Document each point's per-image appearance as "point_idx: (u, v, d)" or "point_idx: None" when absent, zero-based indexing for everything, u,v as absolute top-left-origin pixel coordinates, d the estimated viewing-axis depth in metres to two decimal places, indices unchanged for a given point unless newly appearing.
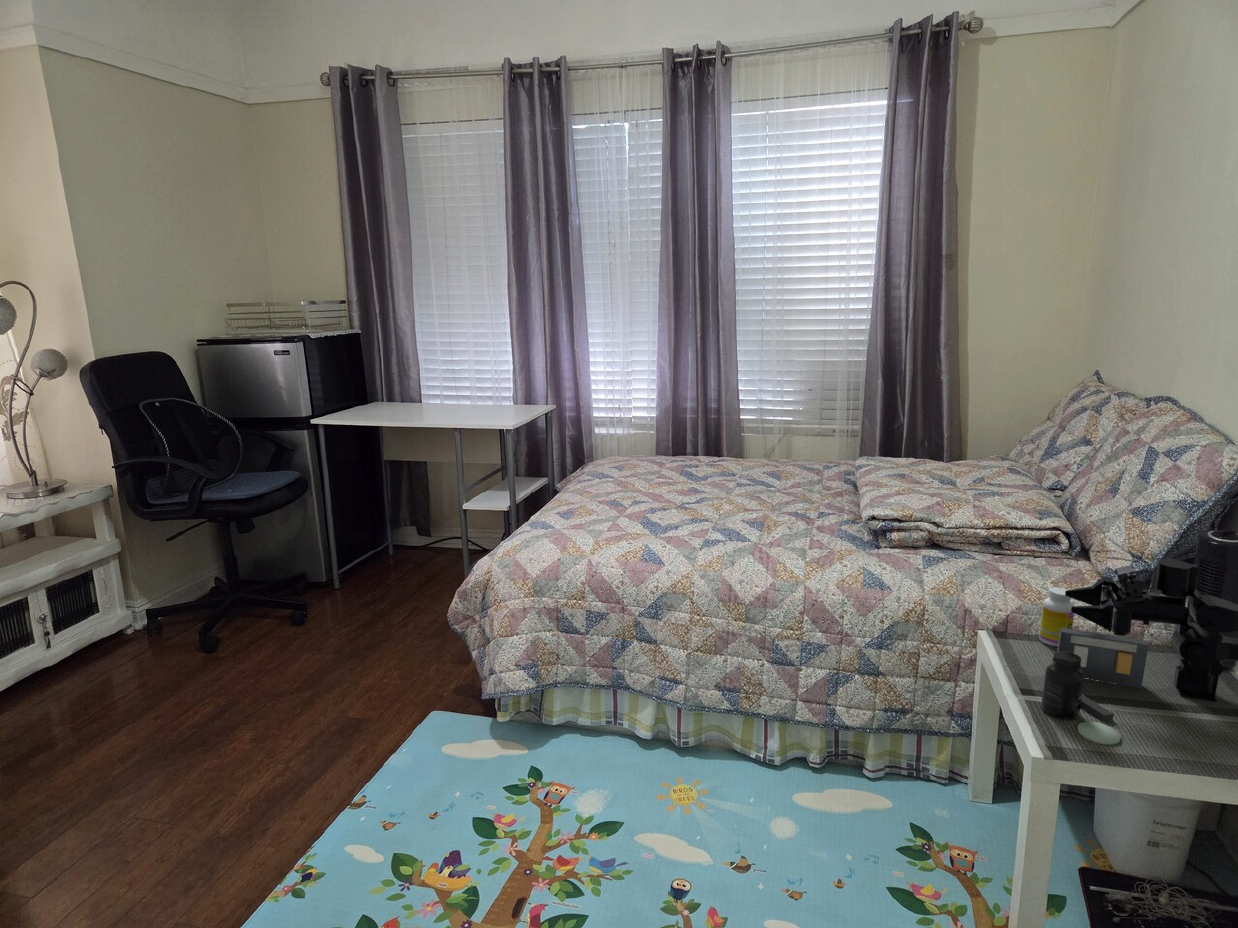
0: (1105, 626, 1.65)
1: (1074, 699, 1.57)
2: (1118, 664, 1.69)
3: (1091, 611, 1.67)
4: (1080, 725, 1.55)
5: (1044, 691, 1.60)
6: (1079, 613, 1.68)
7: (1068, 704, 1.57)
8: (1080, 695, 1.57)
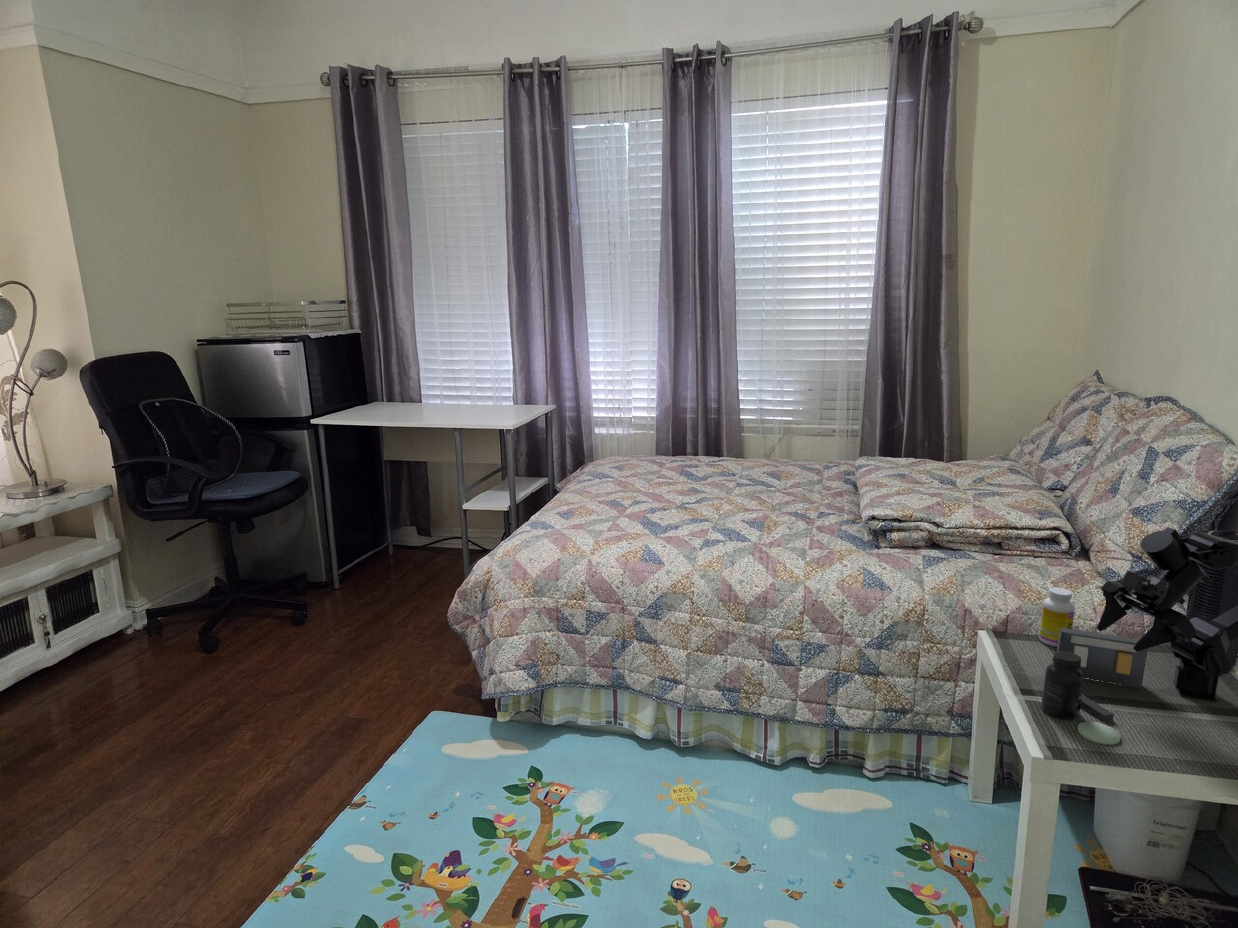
0: (1172, 639, 1.55)
1: (1074, 699, 1.57)
2: (1118, 664, 1.69)
3: (1152, 638, 1.55)
4: (1080, 725, 1.55)
5: (1044, 691, 1.60)
6: (1144, 647, 1.56)
7: (1068, 704, 1.57)
8: (1080, 695, 1.57)
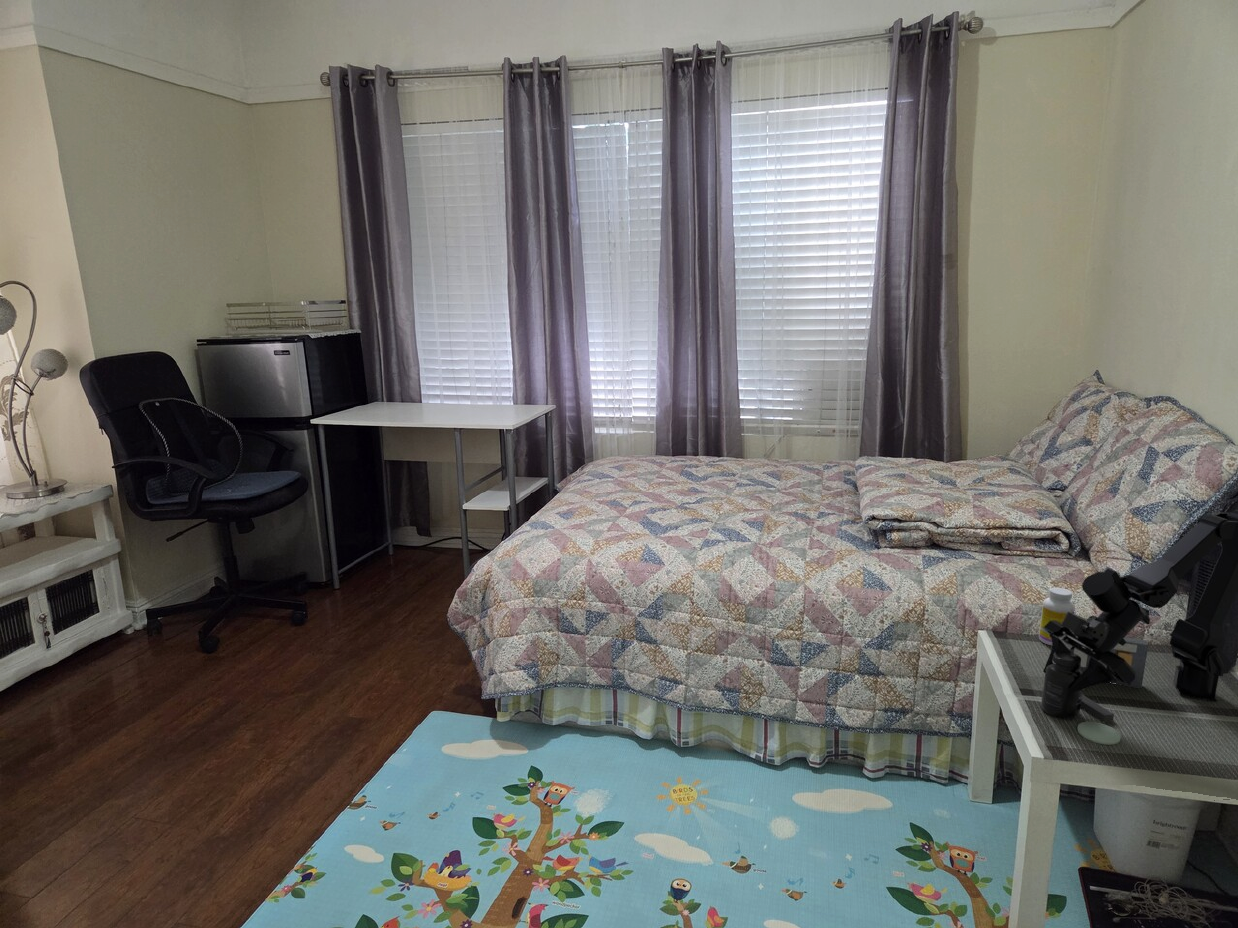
0: (1107, 679, 1.54)
1: (1074, 698, 1.57)
2: None
3: (1087, 679, 1.54)
4: (1080, 725, 1.55)
5: (1044, 691, 1.60)
6: (1080, 688, 1.55)
7: (1068, 703, 1.57)
8: (1080, 695, 1.57)
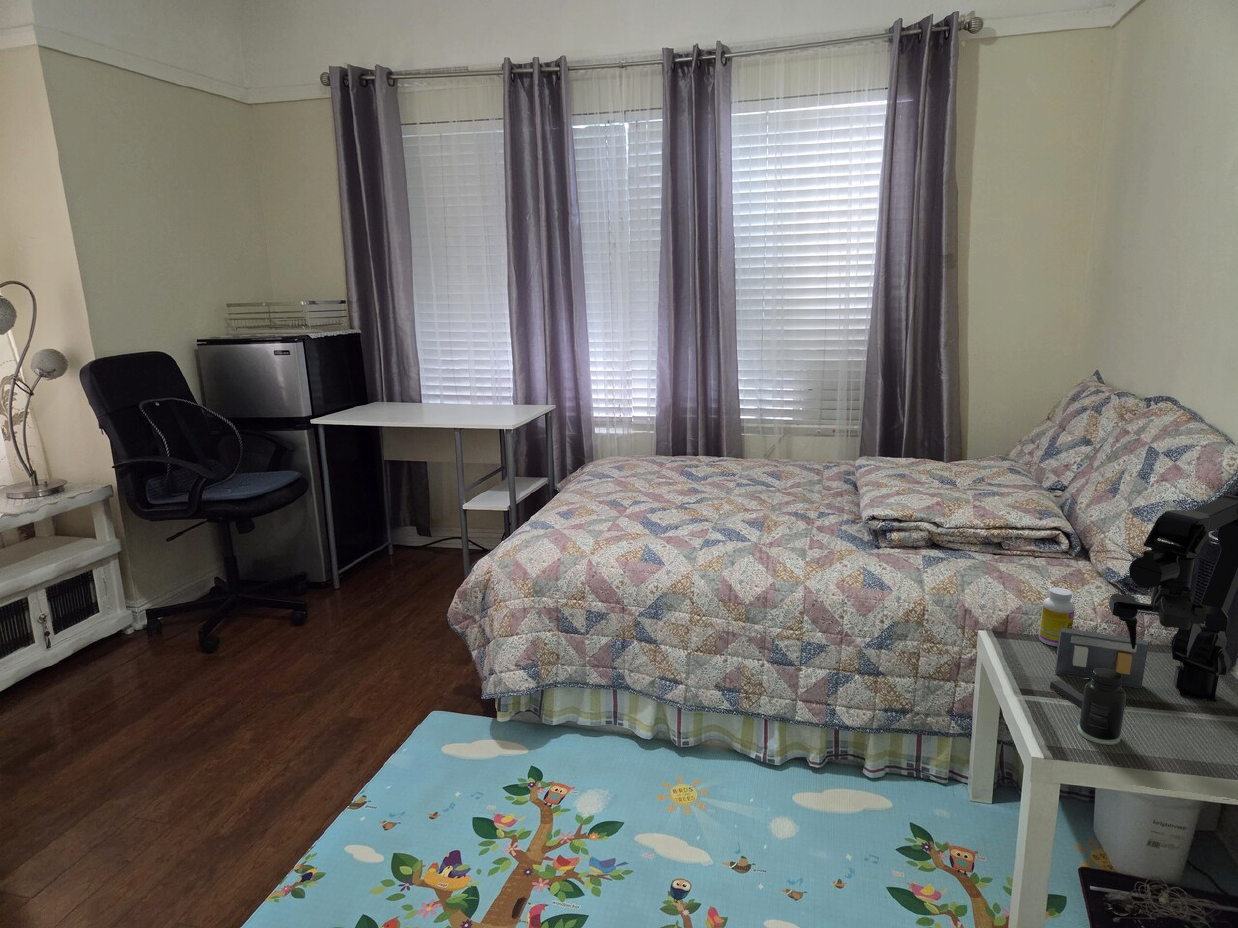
0: None
1: (1119, 718, 1.49)
2: (1118, 664, 1.69)
3: None
4: None
5: (1086, 713, 1.51)
6: None
7: (1114, 724, 1.49)
8: (1123, 713, 1.49)
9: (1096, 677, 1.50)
